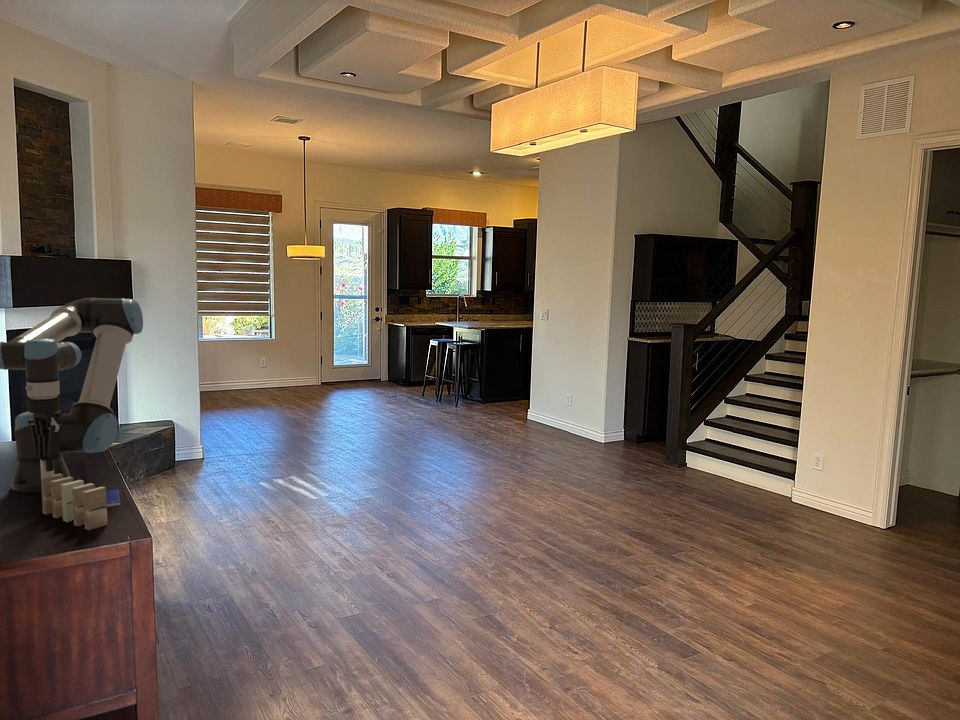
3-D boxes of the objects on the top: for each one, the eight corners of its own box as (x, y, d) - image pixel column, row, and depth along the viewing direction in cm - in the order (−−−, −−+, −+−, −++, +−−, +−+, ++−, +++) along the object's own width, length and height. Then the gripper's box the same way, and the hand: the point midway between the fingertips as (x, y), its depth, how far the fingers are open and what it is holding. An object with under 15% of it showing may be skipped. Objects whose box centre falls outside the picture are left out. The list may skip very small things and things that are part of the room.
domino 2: (52, 517, 188) (50, 481, 187) (71, 511, 192) (69, 476, 191) (56, 518, 187) (54, 482, 186) (75, 513, 191) (73, 477, 190)
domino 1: (42, 513, 190) (41, 477, 189) (61, 508, 195) (60, 473, 193) (46, 514, 190) (44, 479, 188) (64, 509, 194) (63, 474, 192)
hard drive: (120, 501, 198) (118, 489, 209) (87, 505, 194) (87, 492, 205) (120, 506, 199) (118, 494, 209) (87, 511, 195) (87, 497, 205)
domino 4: (73, 525, 183) (72, 487, 181) (92, 519, 187) (91, 483, 186) (77, 526, 182) (75, 489, 181) (96, 520, 186) (94, 484, 185)
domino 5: (84, 529, 180) (83, 491, 179) (103, 523, 185) (102, 486, 183) (88, 530, 179) (86, 492, 178) (107, 524, 184) (105, 487, 182)
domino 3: (63, 521, 185) (61, 484, 184) (82, 515, 190) (80, 479, 188) (66, 522, 185) (64, 485, 183) (85, 516, 189) (83, 480, 187)
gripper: (16, 395, 189) (20, 481, 192) (41, 401, 182) (46, 489, 185) (45, 392, 195) (49, 474, 198) (71, 397, 188) (75, 482, 191)
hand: (47, 482), depth 191 cm, fingers closed
